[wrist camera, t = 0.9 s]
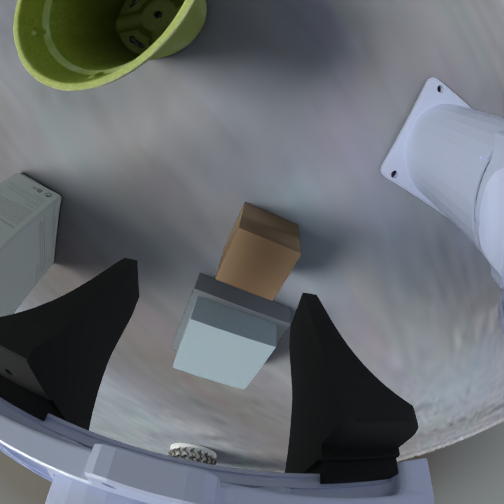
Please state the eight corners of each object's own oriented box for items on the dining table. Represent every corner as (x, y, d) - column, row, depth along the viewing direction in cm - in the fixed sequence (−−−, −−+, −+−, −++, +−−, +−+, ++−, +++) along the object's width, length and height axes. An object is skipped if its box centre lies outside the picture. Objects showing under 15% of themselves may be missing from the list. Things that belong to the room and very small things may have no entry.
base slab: (290, 303, 26) (291, 324, 24) (252, 356, 30) (250, 376, 28) (201, 269, 25) (194, 288, 22) (177, 329, 29) (170, 348, 26)
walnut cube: (297, 224, 21) (301, 253, 18) (273, 267, 23) (272, 300, 20) (245, 201, 21) (238, 227, 17) (224, 247, 23) (215, 279, 19)
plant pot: (267, 3, 14) (262, -53, 6) (169, 109, 18) (100, 132, 10) (160, -59, 11) (102, -111, 3) (77, 43, 15) (-11, 43, 7)
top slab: (276, 323, 24) (276, 347, 22) (246, 367, 27) (244, 389, 25) (197, 296, 23) (190, 318, 21) (179, 345, 26) (172, 367, 24)
